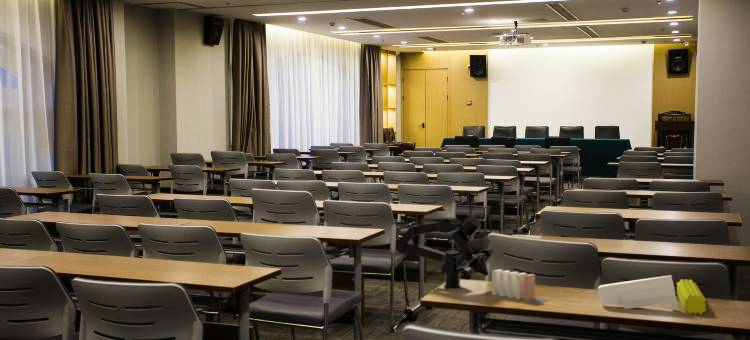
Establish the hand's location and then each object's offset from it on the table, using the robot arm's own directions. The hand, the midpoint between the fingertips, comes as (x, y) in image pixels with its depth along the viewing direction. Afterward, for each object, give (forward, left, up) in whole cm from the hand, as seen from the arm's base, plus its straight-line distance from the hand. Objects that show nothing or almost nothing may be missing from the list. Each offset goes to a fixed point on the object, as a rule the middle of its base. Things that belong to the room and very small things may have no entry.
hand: (487, 275), depth 293 cm
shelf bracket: (+24, +49, -7) cm, 56 cm away
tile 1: (+3, +3, -7) cm, 8 cm away
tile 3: (+8, +8, -7) cm, 13 cm away
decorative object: (+19, +70, -8) cm, 73 cm away
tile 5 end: (+13, +14, -7) cm, 20 cm away
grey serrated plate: (+9, +9, -7) cm, 15 cm away
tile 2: (+5, +6, -7) cm, 10 cm away
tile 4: (+10, +11, -7) cm, 16 cm away
